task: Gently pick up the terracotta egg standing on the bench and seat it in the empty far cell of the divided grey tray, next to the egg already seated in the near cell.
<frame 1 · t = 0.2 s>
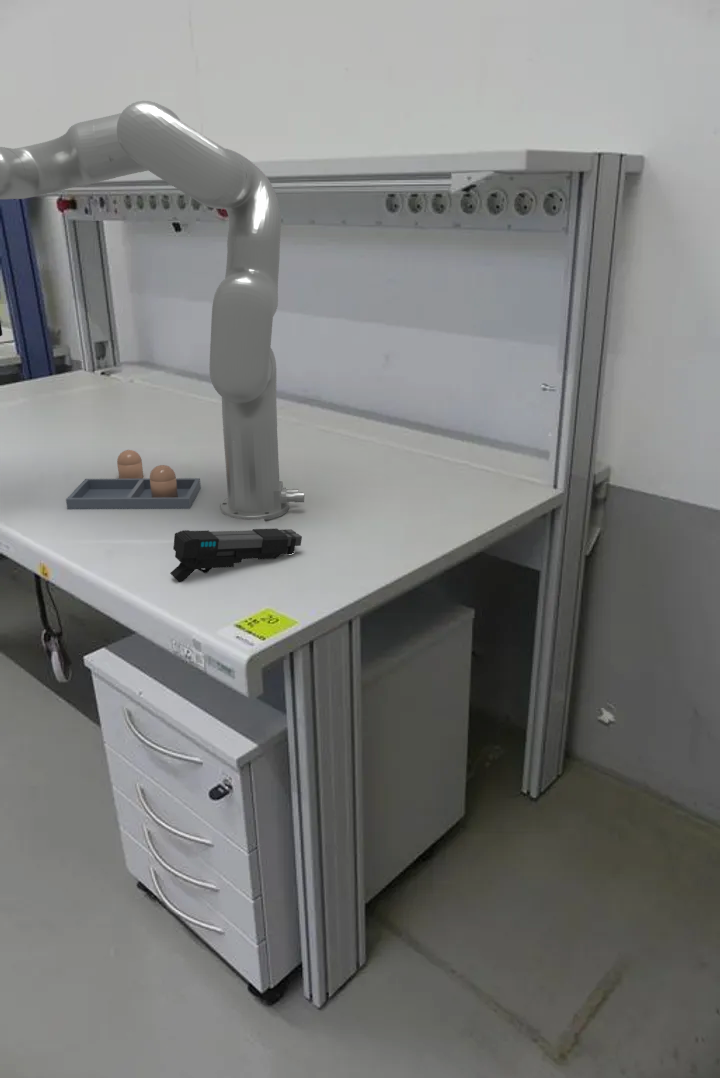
seated egg: (164, 497, 153), point 1 cm above the table, touching divided grey tray
divided grey tray: (136, 500, 153), on the table
gun: (237, 567, 127), on the table
egg: (131, 480, 164), on the table
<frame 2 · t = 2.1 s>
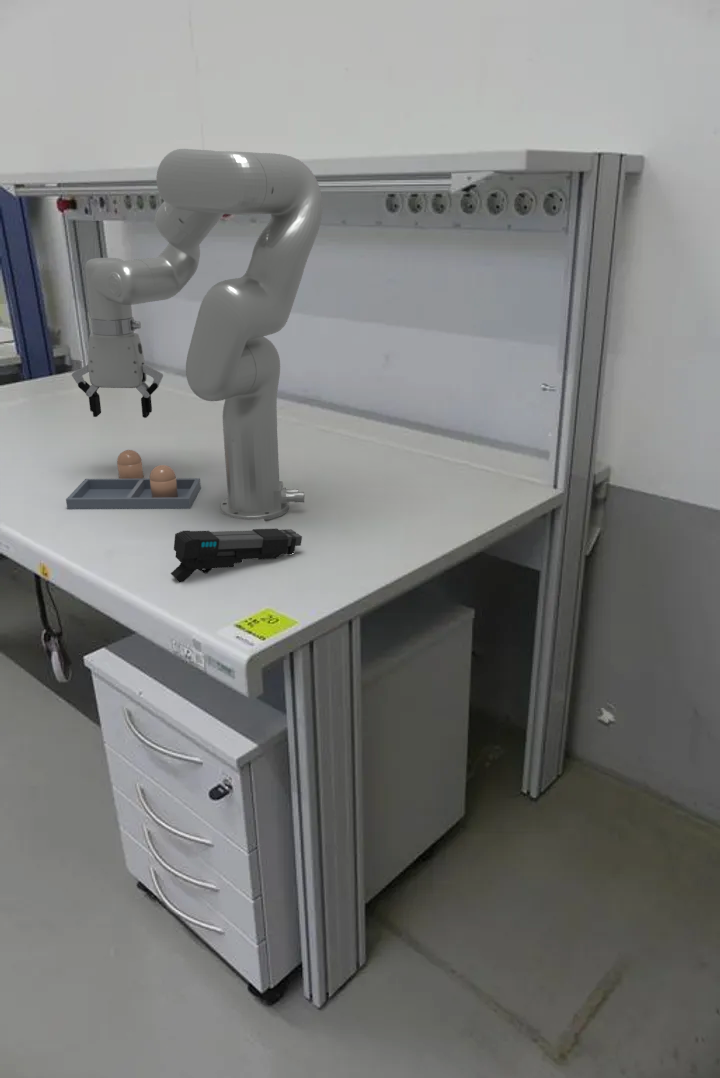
hand: (121, 415, 159), 13 cm above the table, fingers open, 9 cm apart
nothing on the table moved.
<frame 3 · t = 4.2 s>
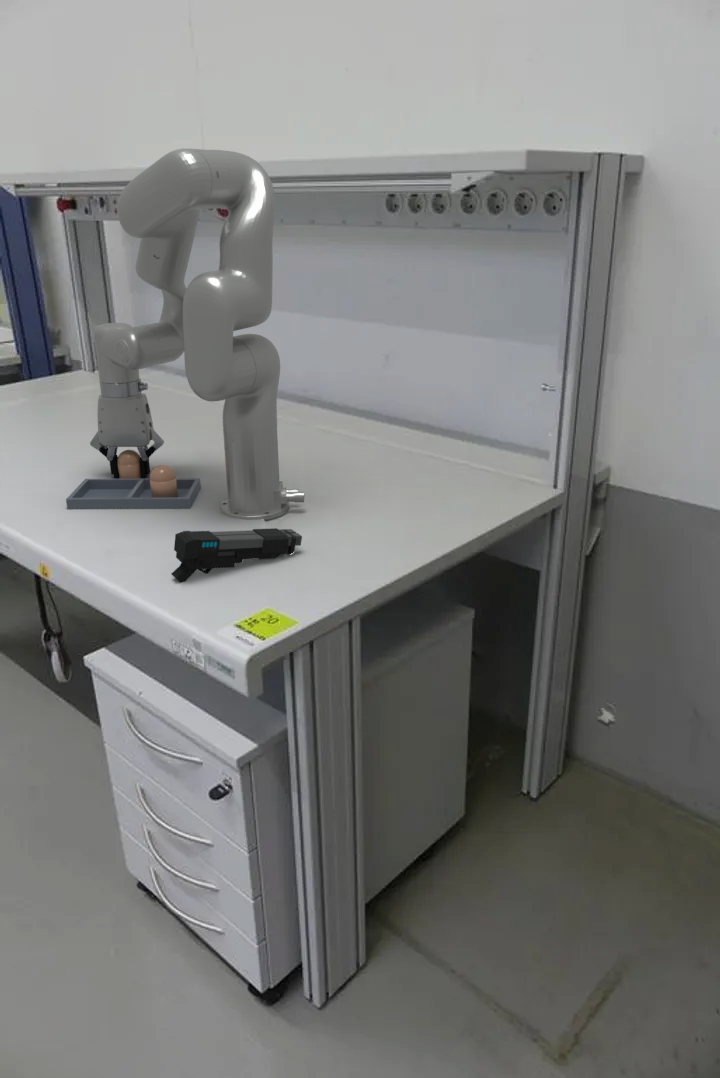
hand: (131, 476, 164), 1 cm above the table, fingers closed on egg, 4 cm apart
egg: (131, 480, 164), on the table, touching gripper
everything else where it was.
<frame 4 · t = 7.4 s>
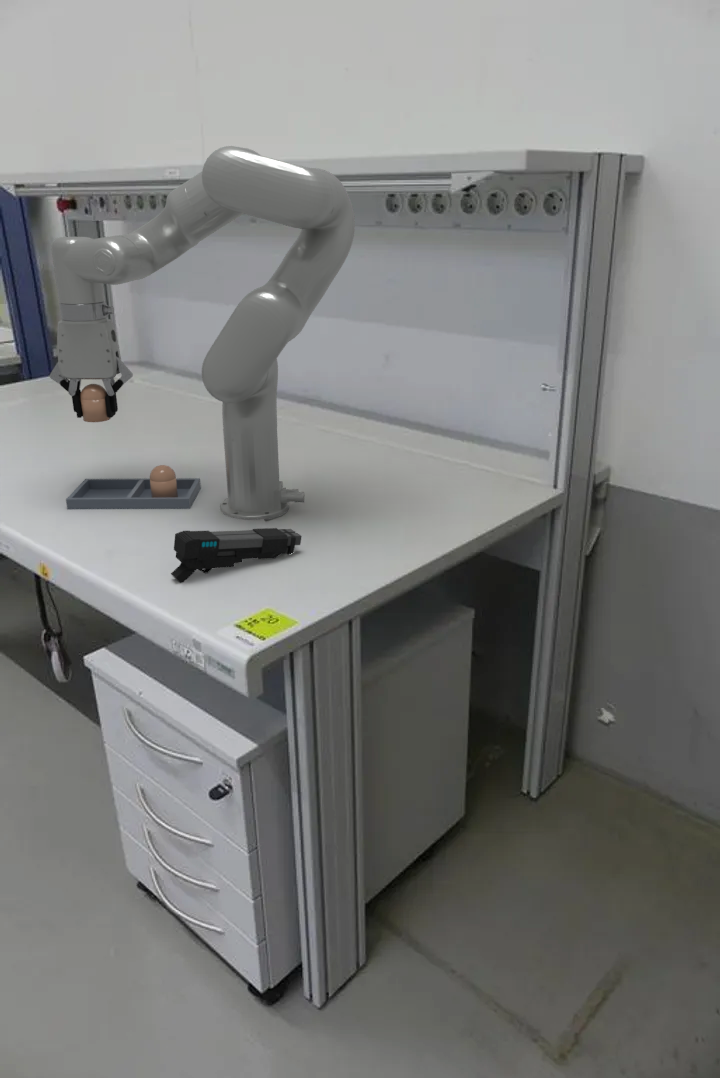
hand: (96, 414, 147), 17 cm above the table, fingers closed on egg, 4 cm apart
egg: (97, 418, 147), point 16 cm above the table, touching gripper
everything else where it was.
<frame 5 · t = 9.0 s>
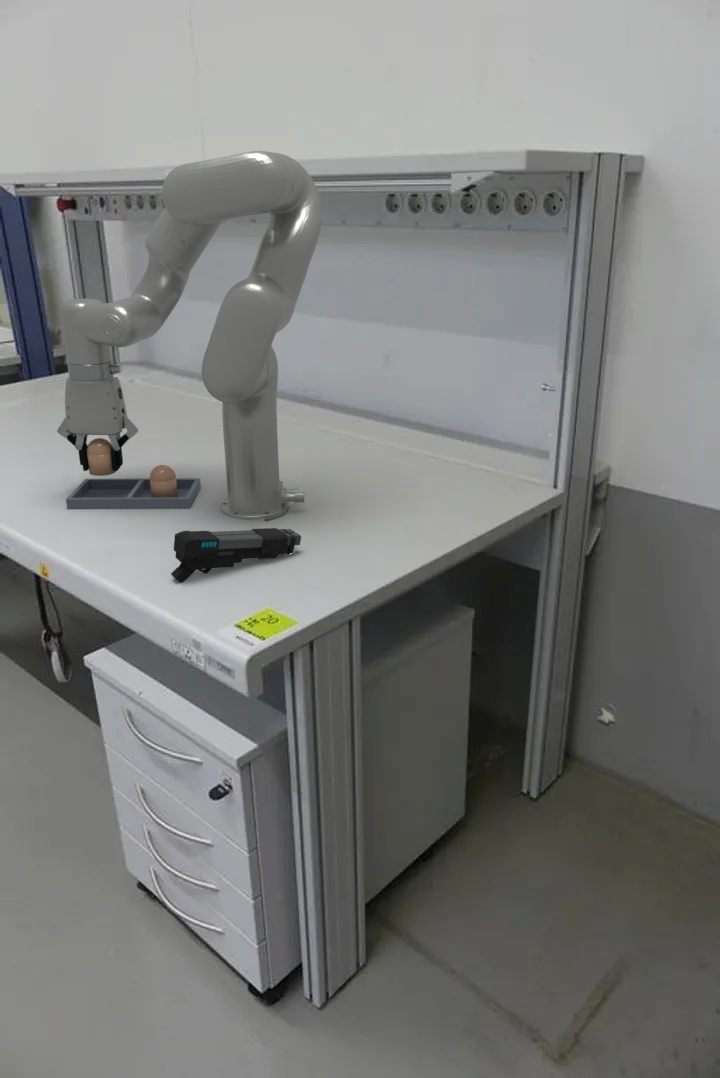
hand: (102, 467, 151), 7 cm above the table, fingers closed on egg, 4 cm apart
egg: (102, 471, 151), point 6 cm above the table, touching gripper
everything else where it was.
when the fingers open (3 cm above the table, at t = 10.5 s): egg drops 2 cm, resting on divided grey tray.
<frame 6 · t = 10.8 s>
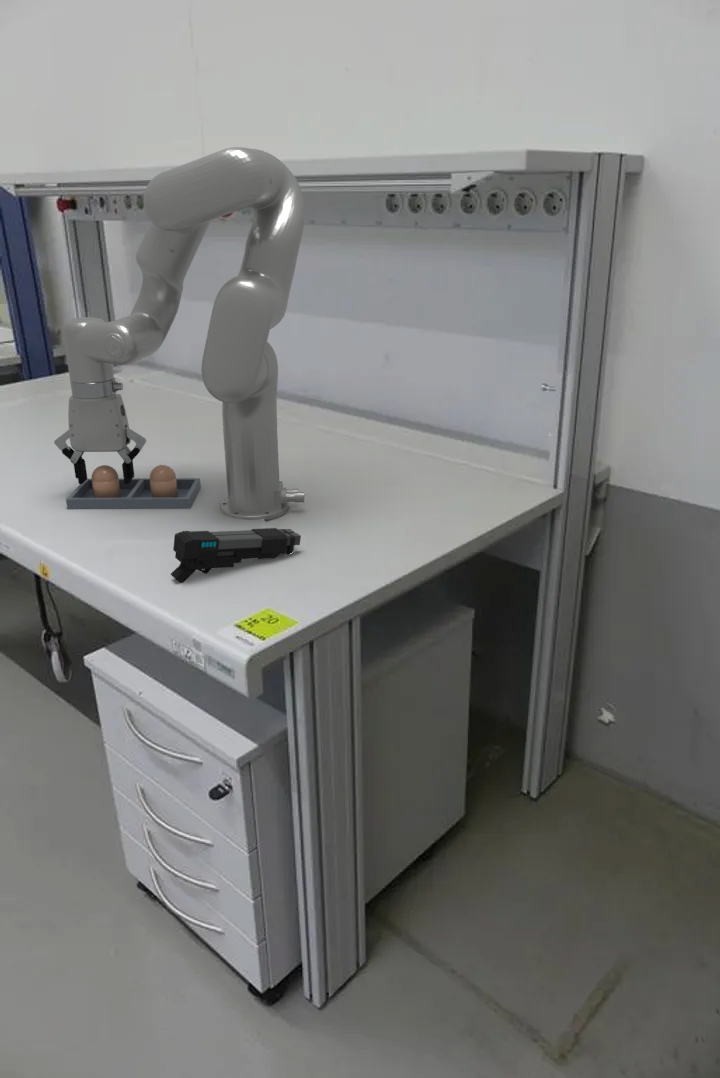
hand: (105, 481, 152), 4 cm above the table, fingers open, 8 cm apart
egg: (107, 498, 153), point 1 cm above the table, touching divided grey tray
everything else where it was.
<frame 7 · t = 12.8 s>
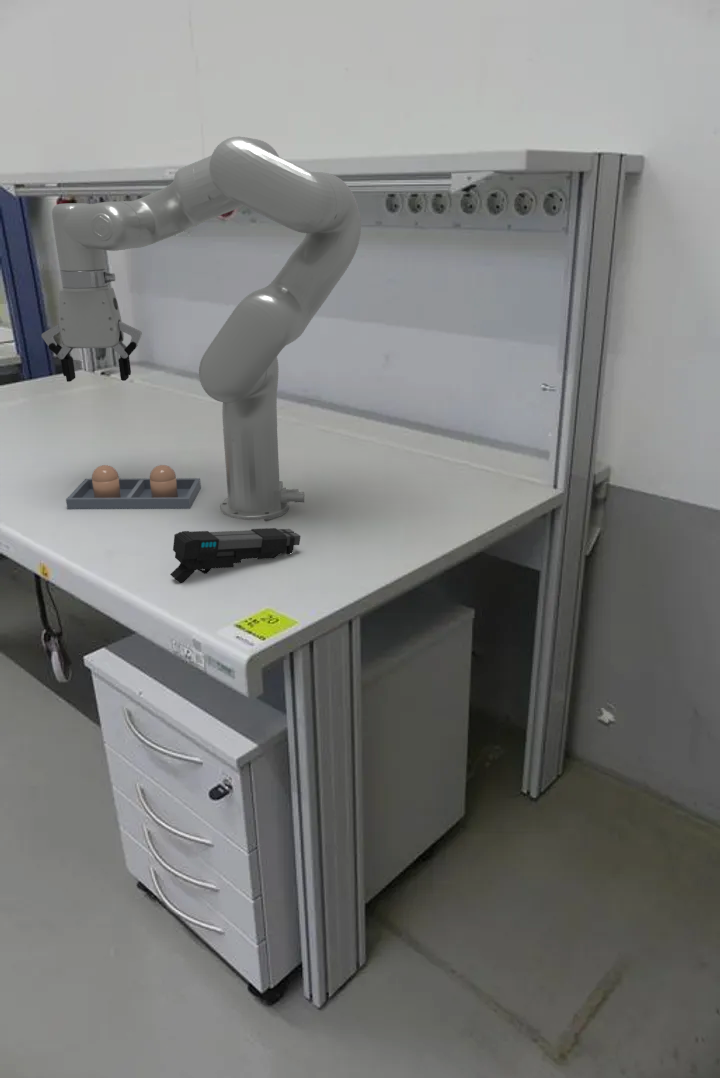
hand: (98, 379, 146), 23 cm above the table, fingers open, 9 cm apart
nothing on the table moved.
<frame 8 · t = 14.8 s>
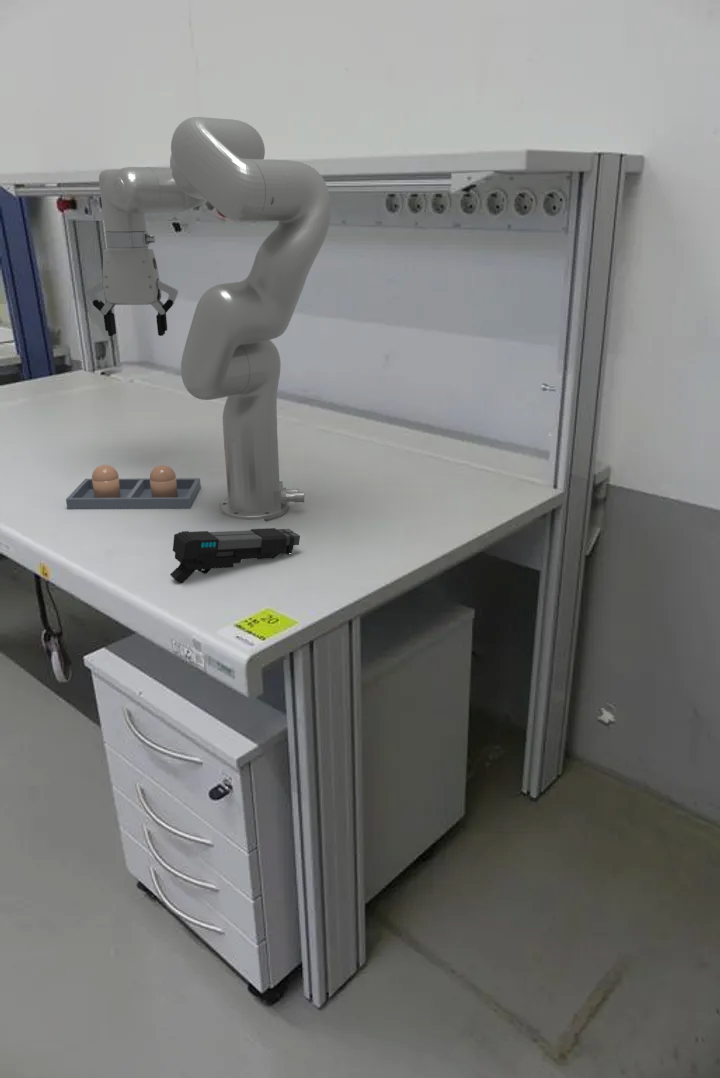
hand: (137, 334, 158), 28 cm above the table, fingers open, 9 cm apart
nothing on the table moved.
at the end: egg inside the target area (0.1 cm from its centre), point 0.6 cm above the table; the gripper is holding nothing; seated egg moved 0.0 cm from its start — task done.
